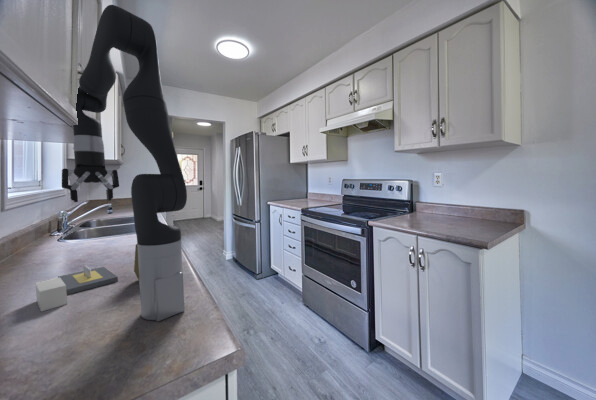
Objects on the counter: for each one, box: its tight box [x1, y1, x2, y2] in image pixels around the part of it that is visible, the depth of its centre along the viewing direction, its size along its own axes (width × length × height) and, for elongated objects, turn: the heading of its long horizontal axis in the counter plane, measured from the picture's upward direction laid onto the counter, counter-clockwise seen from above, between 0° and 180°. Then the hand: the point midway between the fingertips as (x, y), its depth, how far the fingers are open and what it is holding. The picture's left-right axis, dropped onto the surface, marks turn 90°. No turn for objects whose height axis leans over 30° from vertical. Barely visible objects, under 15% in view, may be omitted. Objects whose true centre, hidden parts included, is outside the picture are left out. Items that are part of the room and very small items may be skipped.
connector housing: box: [34, 277, 68, 312], centre depth 66 cm, size 9×5×5 cm, turn 51°
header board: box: [57, 265, 119, 296], centre depth 80 cm, size 16×12×4 cm
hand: (93, 201), depth 81 cm, fingers open, 8 cm apart
